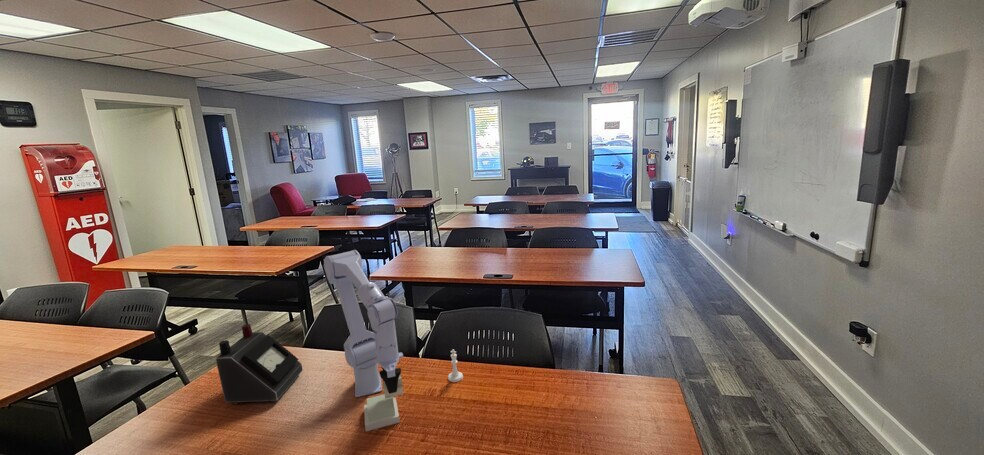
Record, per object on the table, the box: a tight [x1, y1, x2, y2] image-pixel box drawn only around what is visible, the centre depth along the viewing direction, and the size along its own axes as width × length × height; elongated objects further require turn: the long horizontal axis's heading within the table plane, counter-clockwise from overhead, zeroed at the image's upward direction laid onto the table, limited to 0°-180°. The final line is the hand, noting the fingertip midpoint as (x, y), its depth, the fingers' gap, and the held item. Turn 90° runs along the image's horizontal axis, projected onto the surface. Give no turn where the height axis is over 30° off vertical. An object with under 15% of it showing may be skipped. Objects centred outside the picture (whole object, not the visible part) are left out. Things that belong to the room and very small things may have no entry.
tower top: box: [366, 393, 395, 422], centre depth 113 cm, size 7×7×2 cm
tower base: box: [363, 396, 400, 432], centre depth 114 cm, size 9×9×2 cm
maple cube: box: [381, 374, 404, 399], centre depth 113 cm, size 5×5×5 cm
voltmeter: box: [214, 323, 304, 404], centre depth 128 cm, size 16×16×20 cm
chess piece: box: [447, 348, 464, 383], centre depth 129 cm, size 5×5×10 cm
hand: (391, 386), depth 113 cm, fingers closed on maple cube, 5 cm apart
